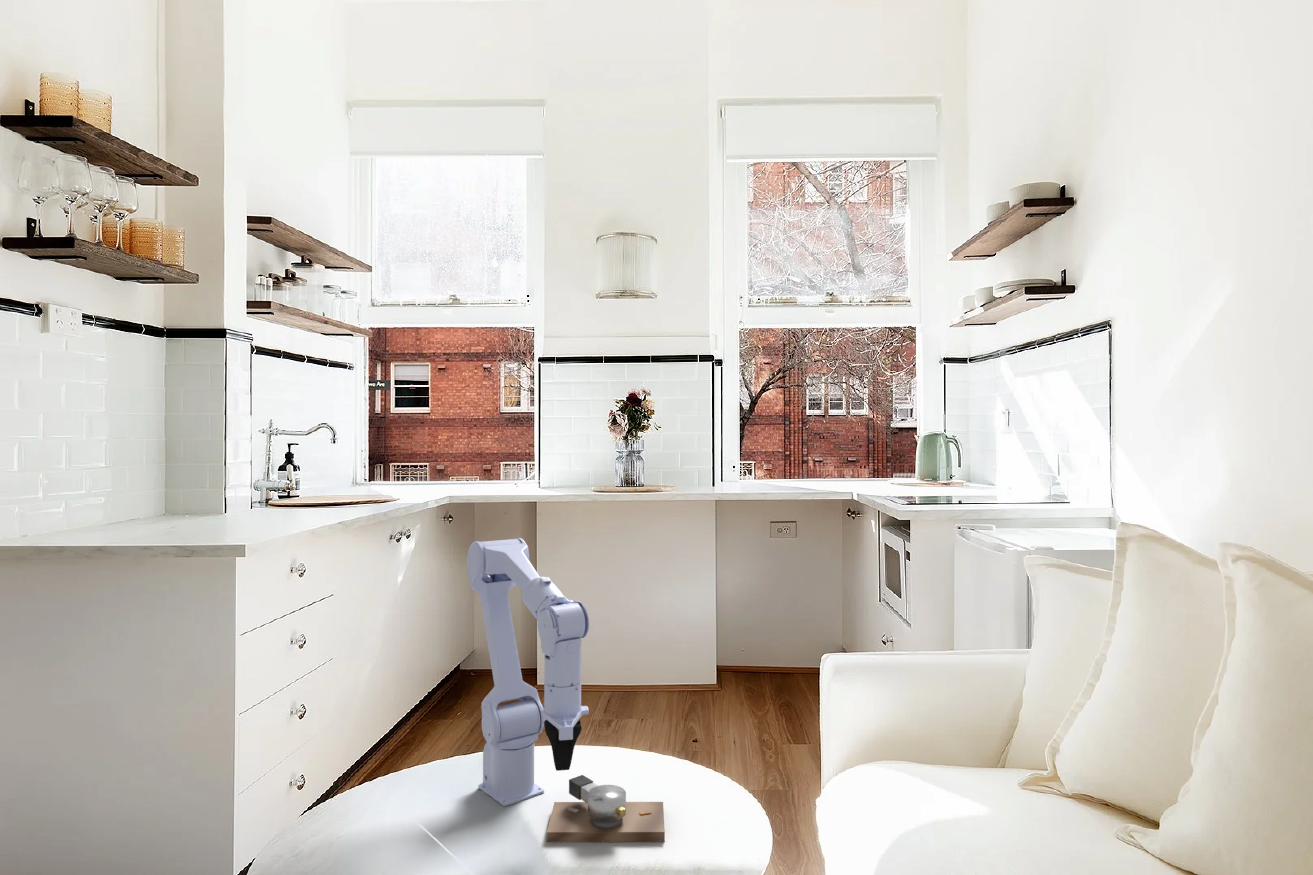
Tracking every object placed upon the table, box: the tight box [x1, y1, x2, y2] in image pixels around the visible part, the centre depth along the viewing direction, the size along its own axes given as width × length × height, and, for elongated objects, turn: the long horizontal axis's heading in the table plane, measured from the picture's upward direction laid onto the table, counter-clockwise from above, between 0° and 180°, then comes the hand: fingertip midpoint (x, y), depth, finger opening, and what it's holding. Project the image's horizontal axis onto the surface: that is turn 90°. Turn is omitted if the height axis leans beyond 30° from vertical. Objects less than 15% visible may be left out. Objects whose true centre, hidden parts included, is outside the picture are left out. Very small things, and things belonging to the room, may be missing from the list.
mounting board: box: [546, 801, 666, 843], centre depth 122 cm, size 10×18×2 cm, turn 91°
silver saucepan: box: [568, 774, 627, 822], centre depth 122 cm, size 13×6×3 cm, turn 41°
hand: (562, 768), depth 119 cm, fingers closed
